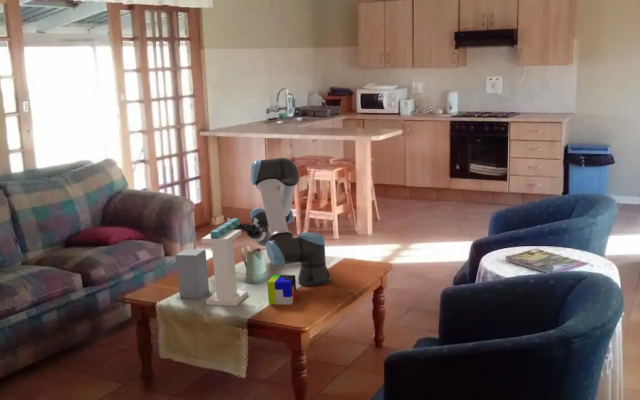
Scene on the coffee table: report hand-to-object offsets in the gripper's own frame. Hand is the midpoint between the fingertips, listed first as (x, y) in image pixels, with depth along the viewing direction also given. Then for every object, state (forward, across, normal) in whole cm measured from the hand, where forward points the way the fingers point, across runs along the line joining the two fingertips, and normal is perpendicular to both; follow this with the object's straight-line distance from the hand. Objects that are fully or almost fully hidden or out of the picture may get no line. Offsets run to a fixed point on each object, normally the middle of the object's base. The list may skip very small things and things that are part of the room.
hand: (241, 220), depth 335 cm
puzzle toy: (+12, -29, -40) cm, 51 cm away
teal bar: (+24, -4, -12) cm, 28 cm away
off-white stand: (+14, -4, -41) cm, 43 cm away
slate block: (+9, +15, -38) cm, 42 cm away
